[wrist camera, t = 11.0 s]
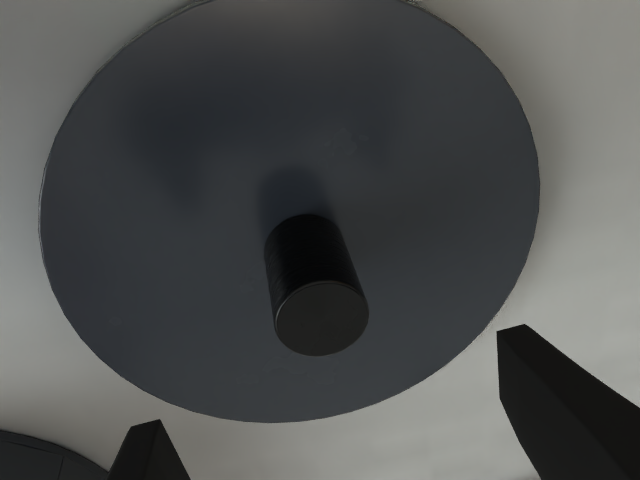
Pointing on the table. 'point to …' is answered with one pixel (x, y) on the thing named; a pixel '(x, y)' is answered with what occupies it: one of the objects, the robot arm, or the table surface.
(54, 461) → the pot
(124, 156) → the lid
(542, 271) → the table surface
